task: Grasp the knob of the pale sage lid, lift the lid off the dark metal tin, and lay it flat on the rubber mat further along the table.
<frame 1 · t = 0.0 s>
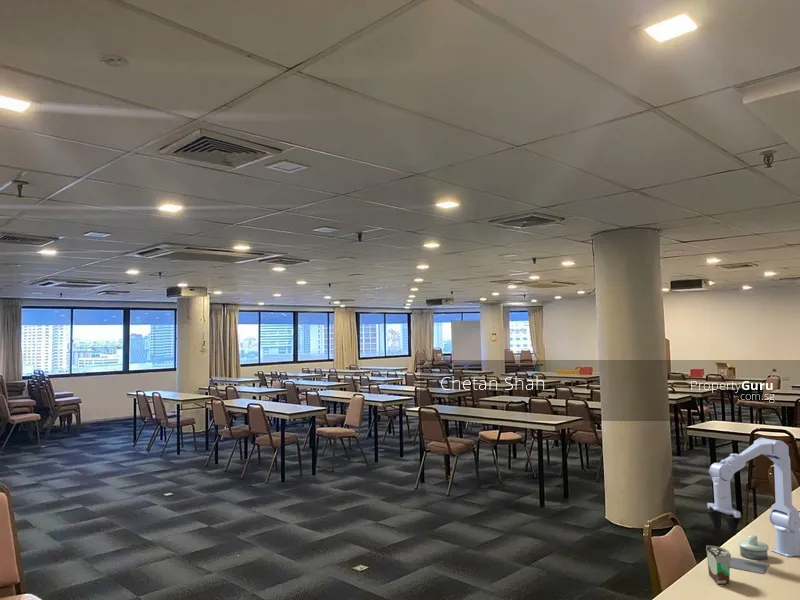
hand: (724, 532, 224), 10 cm above the table, fingers open, 7 cm apart
lid: (753, 546, 227), point 3 cm above the table, touching tin
mat: (747, 565, 217), on the table
tin: (754, 556, 226), on the table
food container: (722, 581, 203), on the table
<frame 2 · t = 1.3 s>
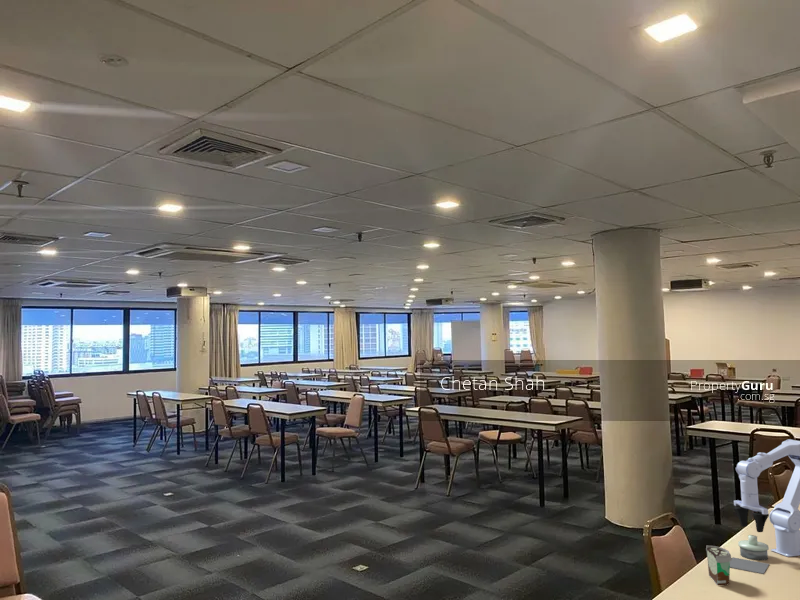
hand: (752, 529, 227), 10 cm above the table, fingers open, 7 cm apart
nothing on the table moved.
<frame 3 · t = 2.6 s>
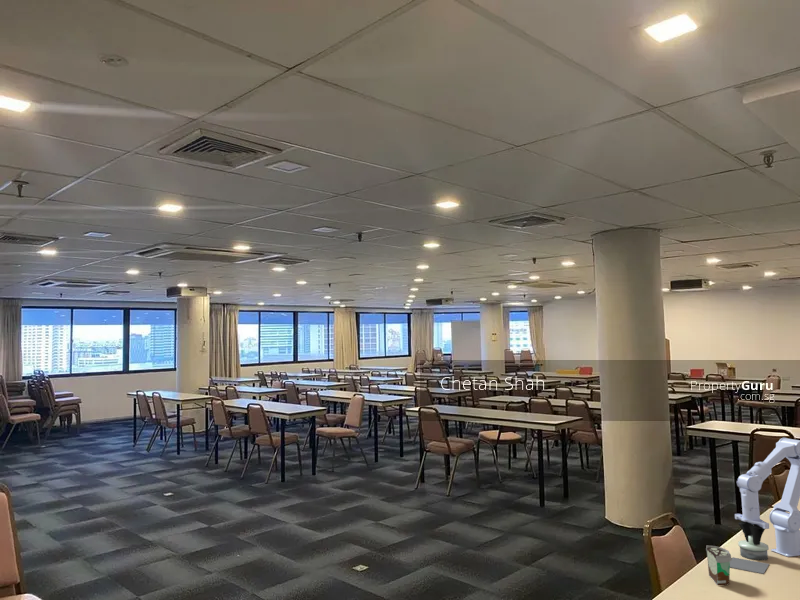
hand: (753, 543, 227), 5 cm above the table, fingers closed on lid, 3 cm apart
lid: (753, 546, 227), point 3 cm above the table, touching gripper, tin
everything else where it was.
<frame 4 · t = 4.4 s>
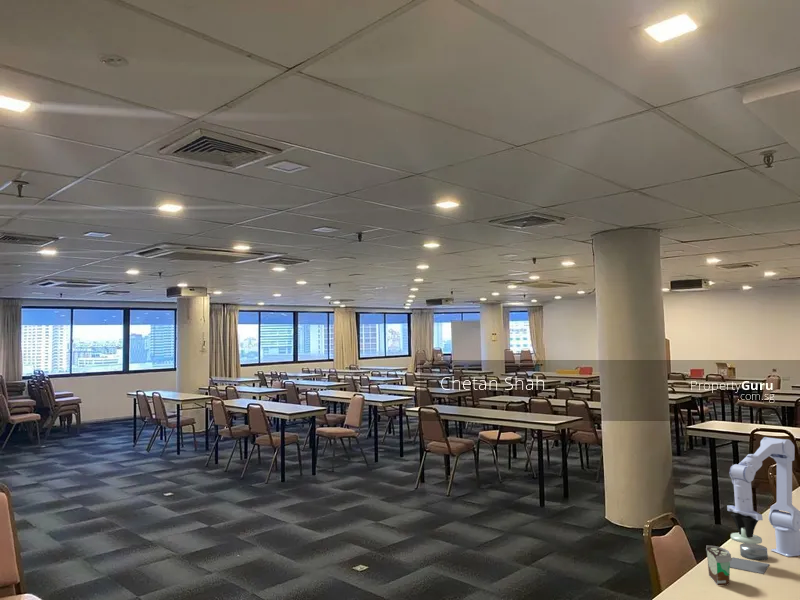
hand: (745, 535, 218), 11 cm above the table, fingers closed on lid, 3 cm apart
lid: (746, 539, 218), point 9 cm above the table, touching gripper
everything else where it was.
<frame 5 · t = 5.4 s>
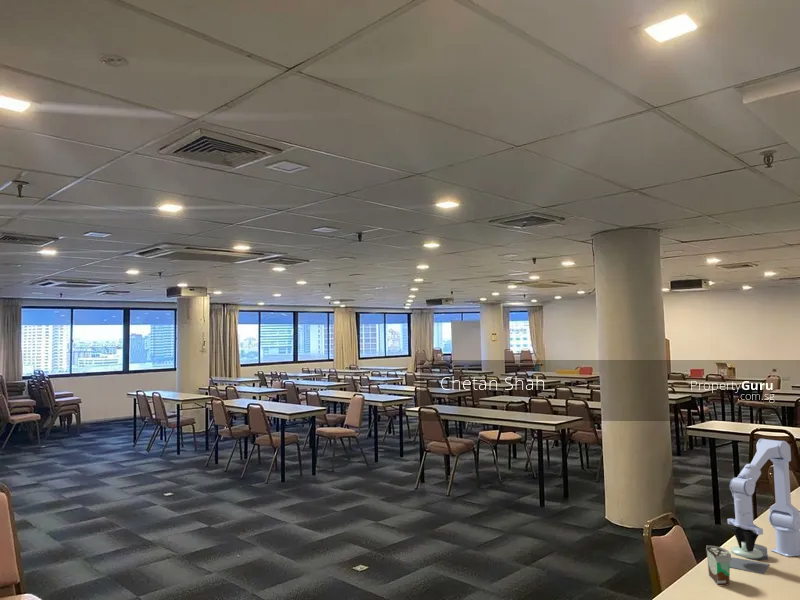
hand: (746, 549, 217), 6 cm above the table, fingers closed on lid, 3 cm apart
lid: (746, 553, 217), point 4 cm above the table, touching gripper
everything else where it was.
when the fingers open (3 cm above the table, at t = 6.2 s): lid drops 2 cm, resting on mat.
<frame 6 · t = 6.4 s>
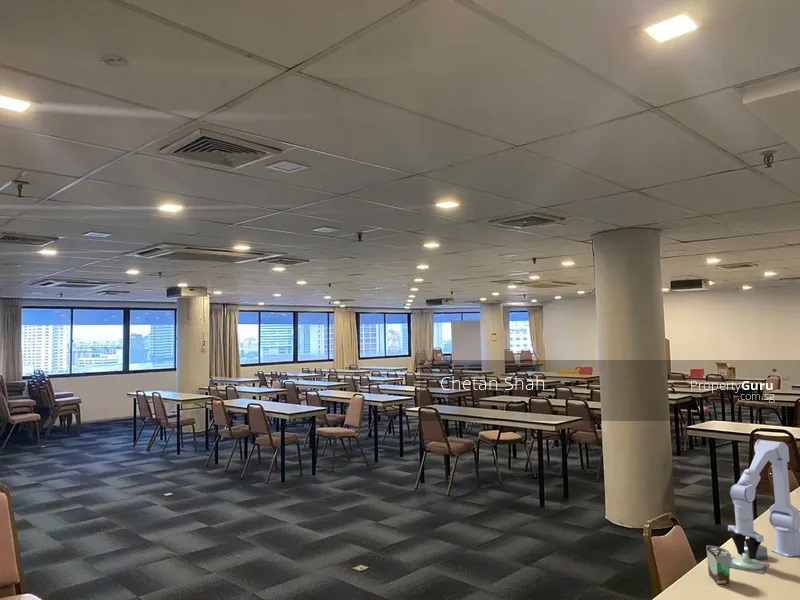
hand: (746, 556, 217), 3 cm above the table, fingers open, 5 cm apart
lid: (747, 565, 216), resting on mat
everything else where it was.
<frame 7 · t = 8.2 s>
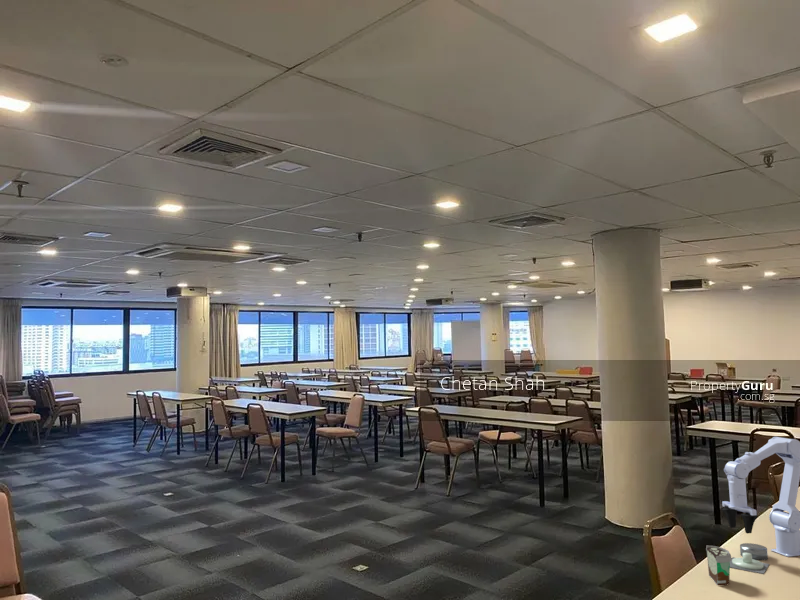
hand: (740, 530, 226), 10 cm above the table, fingers open, 7 cm apart
nothing on the table moved.
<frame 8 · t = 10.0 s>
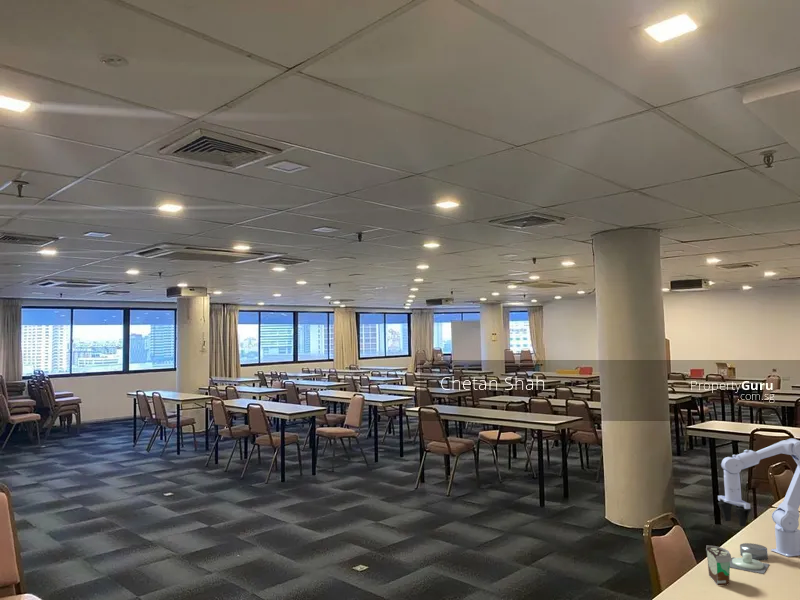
hand: (735, 523, 235), 10 cm above the table, fingers open, 7 cm apart
nothing on the table moved.
at the end: lid 0.1 cm off-centre on the mat, point 0.3 cm above the mat's base; lid tilted 0°; the gripper is holding nothing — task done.
